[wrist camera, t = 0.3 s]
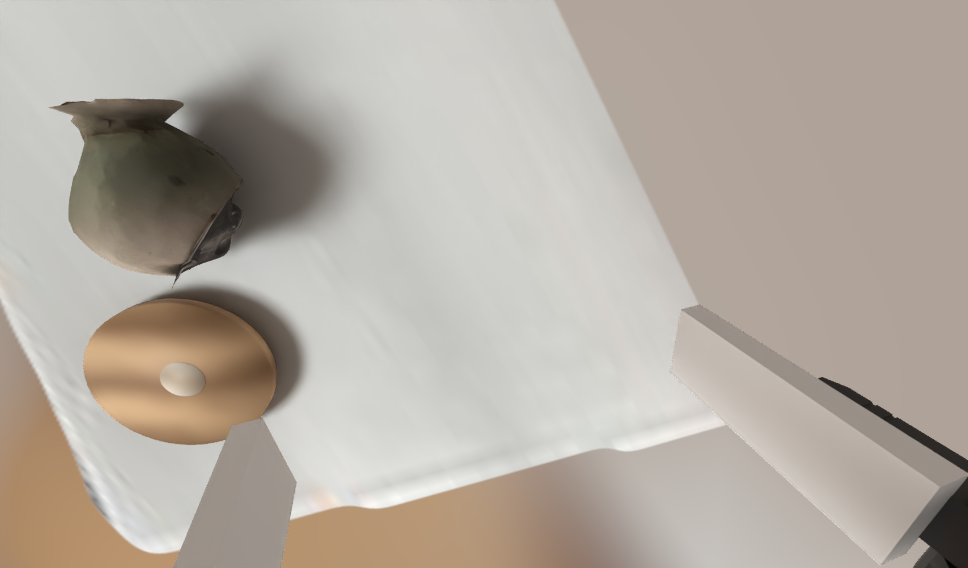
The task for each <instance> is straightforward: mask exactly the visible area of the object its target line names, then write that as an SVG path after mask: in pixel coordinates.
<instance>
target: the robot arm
mask: <svg viewBox="0 0 968 568" xmlns="http://www.w3.org/2000/svg"><path fill="white" fill-rule="evenodd" d="M670 373H671V374H672V375H673V376H674V377H675V378H676V379H678V380H679V381H680V382H681V383H682V384H683V385H684V386H685V387H686V388H687V389H688V390H689V391H691V392H692V393H693V394H694V395H695V396H696V397H697V398H698V399H699V400H700V401H701V402H703V403H704V404H705V405H706V406H707V407H708V408H709V409H710V410H711V411H712V412H713V413H715V414H716V415H717V416H718V417H719V418H720V419H721V420H722V421H723V422H724V423H725V424H727V425H728V426H729V427H730V428H731V429H732V430H733V431H734V432H735V433H736V434H738V435H739V436H740V437H741V438H742V439H743V440H744V441H745V442H746V443H747V444H748V445H749V446H751V447H752V448H753V449H754V450H755V451H756V452H757V453H758V454H759V455H760V456H761V457H762V458H764V459H765V460H766V461H767V462H768V463H769V464H770V465H771V466H772V467H773V468H774V469H776V470H777V471H778V472H779V473H780V474H781V475H782V476H783V477H784V478H785V479H786V480H788V481H789V482H790V483H791V484H792V485H793V486H794V487H795V488H796V489H797V490H799V491H800V492H801V493H802V494H803V495H804V496H805V497H806V498H807V499H808V500H809V501H810V502H812V503H813V504H814V505H815V506H816V507H817V508H818V509H819V510H820V511H821V512H822V513H824V514H825V515H826V516H827V517H828V518H829V519H830V520H831V521H832V522H833V523H834V524H836V525H837V526H838V527H839V528H840V529H841V530H842V531H843V532H844V533H845V534H846V535H847V536H849V537H850V538H851V539H852V540H853V541H854V542H855V543H856V544H857V545H858V546H859V547H861V548H862V549H863V550H864V551H865V552H866V553H867V554H868V555H869V556H870V557H871V558H872V559H874V560H875V561H876V562H877V563H878V564H879V565H882V564H884V563H886V562H889V561H891V560H893V559H895V558H897V557H899V556H902V555H904V554H906V553H907V552H908V550H909V549H910V548H911V546H912V545H913V544H914V543H915V542H916V541H917V539H918V538H921V539H922V540H923V541H924V542H926V543H927V544H928V545H929V546H930V547H929V548H928V549H927V551H926V552H925V553H924V554H923V555H922V556H921V558H920V559H919V560H918V561H917V562H916V563H915V565H914V567H913V568H968V460H967V459H965V458H963V457H962V456H960V455H958V454H957V453H955V452H953V451H952V450H950V449H949V448H947V447H945V446H944V445H942V444H940V443H939V442H937V441H935V440H934V439H932V438H930V437H929V436H927V435H925V434H924V433H922V432H921V431H919V430H917V429H916V428H914V427H912V426H911V425H909V424H907V423H906V422H904V421H903V420H901V419H899V418H894V417H893V416H892V414H891V413H889V412H887V411H886V410H884V409H883V408H881V407H880V406H878V405H876V406H875V405H873V403H872V402H871V401H870V400H868V399H866V398H865V397H863V396H861V395H860V394H858V393H856V392H855V391H853V390H851V389H850V388H848V387H846V386H843V385H841V384H838V383H836V382H833V381H831V380H828V379H826V378H823V377H821V378H816V377H814V376H812V375H811V374H809V373H808V372H806V371H805V370H803V369H802V368H800V367H798V366H797V365H795V364H794V363H792V362H791V361H789V360H787V359H786V358H784V357H783V356H781V355H779V354H778V353H776V352H775V351H773V350H771V349H770V348H768V347H767V346H765V345H763V344H762V343H760V342H759V341H757V340H756V339H754V338H752V337H751V336H749V335H748V334H746V333H744V332H743V331H741V330H740V329H738V328H737V327H735V326H733V325H732V324H730V323H729V322H727V321H725V320H724V319H722V318H721V317H719V316H718V315H716V314H714V313H713V312H711V311H709V310H708V309H706V308H704V307H703V306H702V305H697V306H693V307H689V308H685V309H681V312H680V317H679V323H678V329H677V334H676V340H675V346H674V351H673V357H672V363H671V368H670ZM296 483H297V482H296V480H295V478H294V476H293V475H292V473H291V471H290V469H289V467H288V465H287V463H286V461H285V459H284V458H283V456H282V454H281V452H280V450H279V448H278V446H277V444H276V442H275V441H274V439H273V437H272V435H271V433H270V431H269V429H268V427H267V425H266V424H265V422H264V420H263V418H260V419H256V420H253V421H249V422H245V423H241V424H237V425H233V426H231V429H230V431H229V433H228V436H227V438H226V441H225V443H224V446H223V448H222V450H221V453H220V455H219V458H218V460H217V463H216V465H215V467H214V470H213V472H212V475H211V477H210V479H209V482H208V484H207V487H206V489H205V492H204V494H203V496H202V499H201V501H200V504H199V506H198V509H197V511H196V513H195V516H194V518H193V521H192V523H191V526H190V528H189V530H188V533H187V535H186V538H185V540H184V543H183V545H182V547H181V550H180V552H179V555H178V557H177V560H176V562H175V564H174V567H173V568H281V564H282V558H283V553H284V548H285V542H286V537H287V531H288V526H289V521H290V515H291V510H292V504H293V499H294V493H295V488H296Z"/></svg>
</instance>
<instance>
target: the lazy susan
mask: <svg viewBox="0 0 968 568" xmlns="http://www.w3.org/2000/svg"><path fill="white" fill-rule="evenodd" d="M83 367H84V375H85V379H86V382H87V385H88V387H89V389H90V391H91V393H92V395H93V397H94V398H95V399H96V401H97V402H98V404H99V405H100V406H101V407H102V408H103V409H104V410H105V411H106V412H107V413H108V414H109V415H110V416H111V417H112V418H113V419H115V420H116V421H118V422H119V423H121V424H122V425H123V426H125V427H127V428H129V429H131V430H132V431H134V432H137V433H139V434H141V435H143V436H146V437H149V438H152V439H155V440H159V441H163V442H168V443H174V444H186V445H197V444H208V443H214V442H218V441H223V440H226V438H227V436H228V433H229V431H230V429H231V426H233V425H237V424H241V423H245V422H249V421H253V420H256V419H259V418H260V417H261V416H262V415H263V413H264V412H265V410H266V408H267V407H268V405H269V403H270V401H271V400H272V397H273V395H274V393H275V389H276V385H277V369H276V364H275V360H274V357H273V355H272V353H271V350H270V349H269V347H268V345H267V344H266V342H265V341H264V340H263V338H262V337H261V336H260V335H259V333H258V332H257V331H255V330H254V329H253V328H252V327H251V326H250V325H249V324H248V323H246V322H245V321H244V320H242V319H241V318H239V317H238V316H236V315H234V314H233V313H231V312H229V311H226V310H224V309H222V308H220V307H217V306H214V305H211V304H209V303H205V302H200V301H196V300H189V299H177V298H168V299H157V300H152V301H147V302H143V303H140V304H137V305H134V306H132V307H130V308H128V309H126V310H124V311H122V312H120V313H119V314H117V315H115V316H113V317H112V318H111V319H109V320H108V321H106V322H105V323H104V324H103V325H101V326H100V327H99V328H98V329H97V330H96V332H95V333H94V334H93V336H92V337H91V339H90V341H89V343H88V345H87V347H86V351H85V354H84V364H83Z"/></svg>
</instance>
